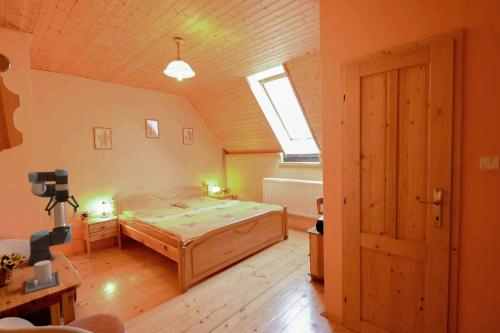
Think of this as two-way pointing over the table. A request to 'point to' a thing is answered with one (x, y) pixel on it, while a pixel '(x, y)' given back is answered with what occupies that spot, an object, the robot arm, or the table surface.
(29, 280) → the tray
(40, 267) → the cup
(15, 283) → the table surface
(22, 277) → the table surface
